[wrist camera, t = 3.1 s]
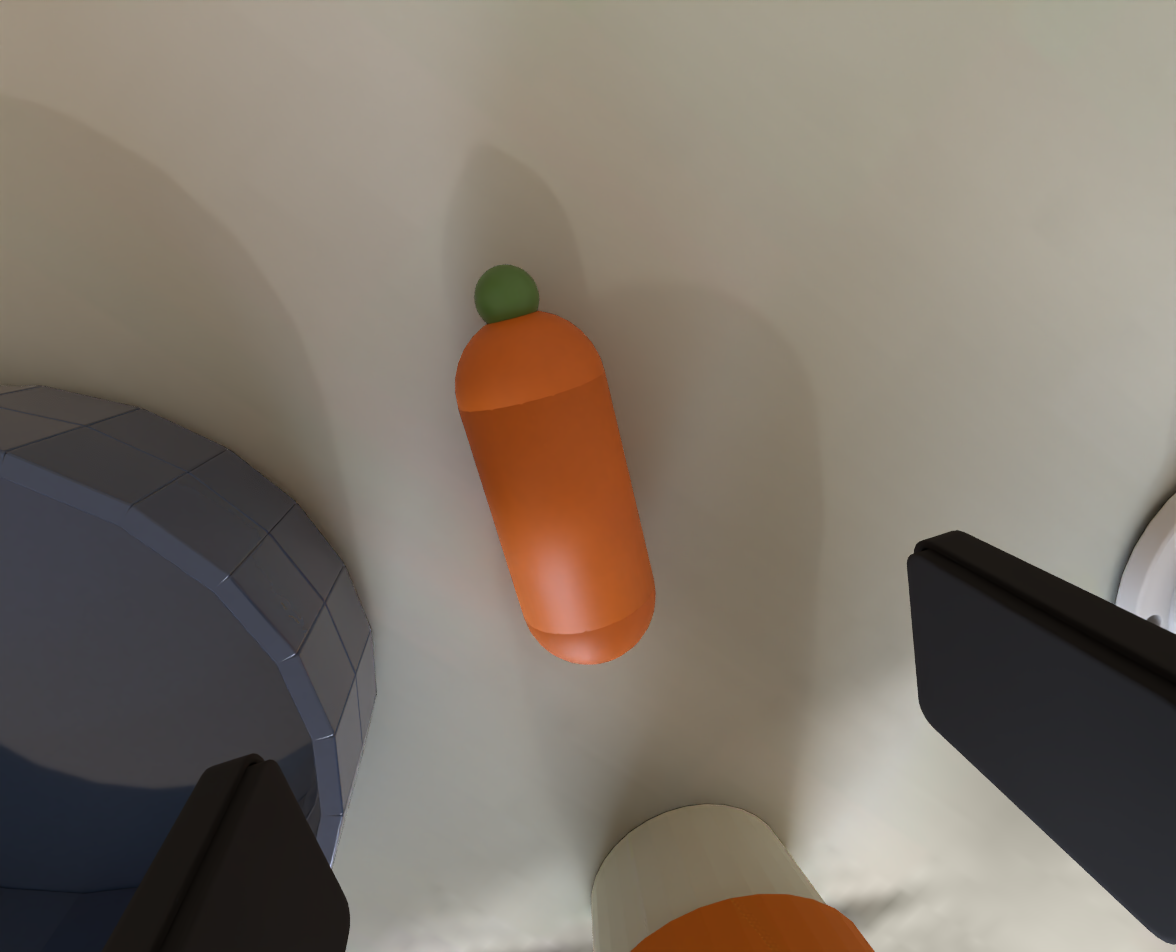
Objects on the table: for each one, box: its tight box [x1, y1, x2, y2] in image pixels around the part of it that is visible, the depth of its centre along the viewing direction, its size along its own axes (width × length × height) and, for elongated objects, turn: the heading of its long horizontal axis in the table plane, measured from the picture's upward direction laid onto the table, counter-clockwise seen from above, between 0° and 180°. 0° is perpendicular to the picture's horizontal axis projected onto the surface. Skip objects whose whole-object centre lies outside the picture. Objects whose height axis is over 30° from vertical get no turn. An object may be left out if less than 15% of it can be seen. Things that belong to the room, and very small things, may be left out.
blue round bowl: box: [0, 385, 377, 952], centre depth 18 cm, size 19×19×6 cm
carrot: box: [455, 265, 656, 664], centre depth 19 cm, size 13×4×4 cm, turn 14°
